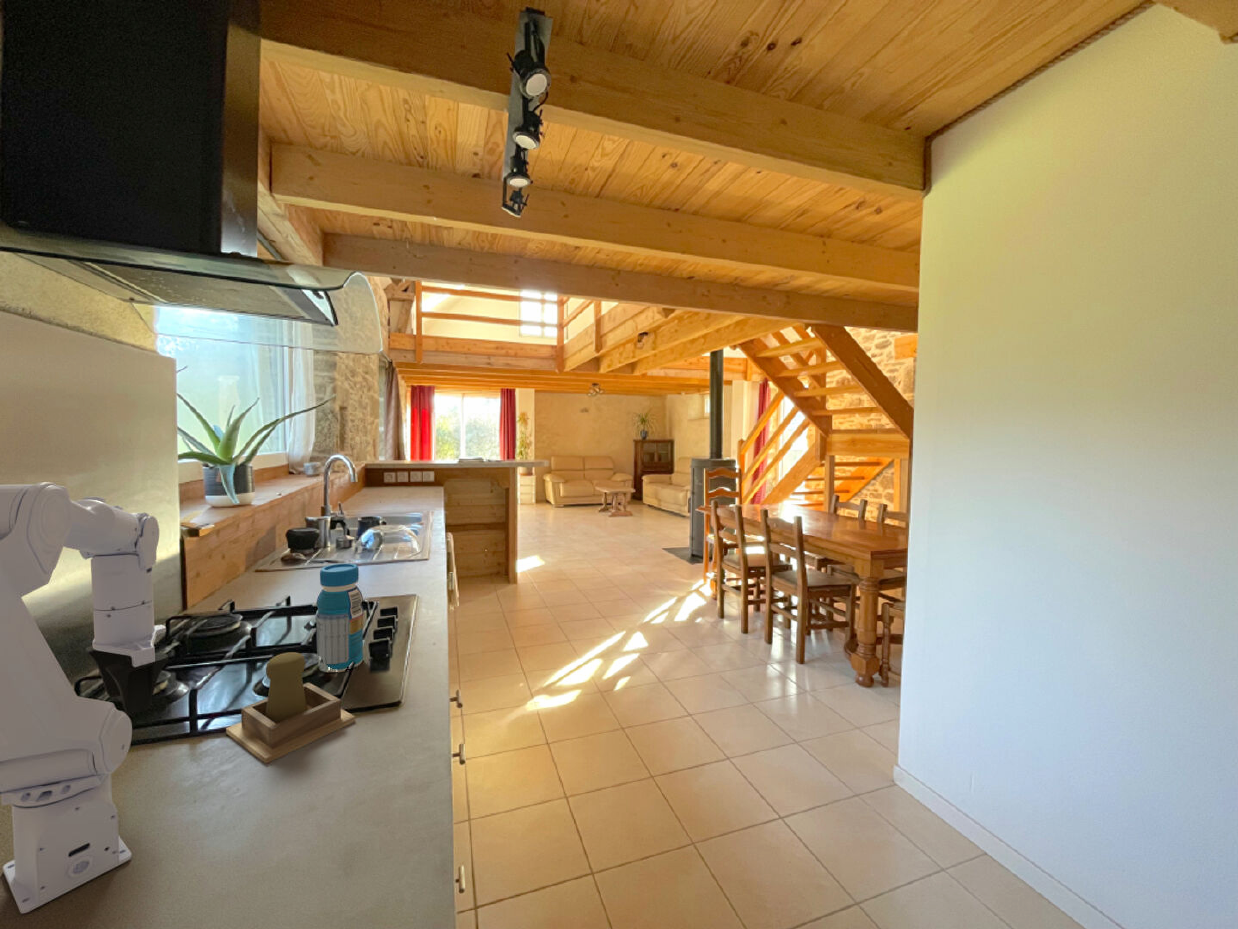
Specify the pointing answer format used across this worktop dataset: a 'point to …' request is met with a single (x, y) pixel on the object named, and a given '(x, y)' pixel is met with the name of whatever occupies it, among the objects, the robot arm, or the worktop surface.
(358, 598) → the beverage bottle
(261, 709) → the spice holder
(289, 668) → the cork
